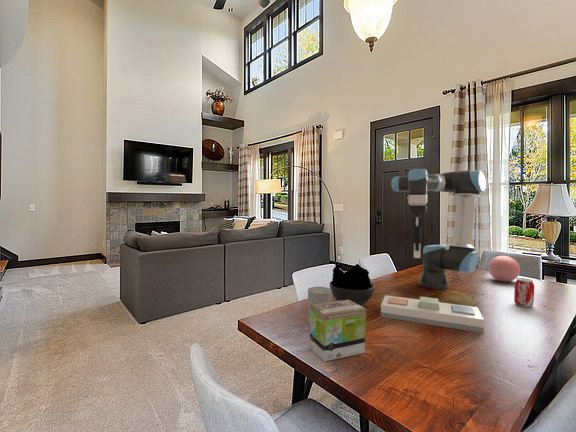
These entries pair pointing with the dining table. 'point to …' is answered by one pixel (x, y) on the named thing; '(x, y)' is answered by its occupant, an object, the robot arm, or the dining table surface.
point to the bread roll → (458, 298)
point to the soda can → (524, 292)
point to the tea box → (337, 329)
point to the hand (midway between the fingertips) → (417, 257)
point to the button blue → (462, 310)
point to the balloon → (504, 268)
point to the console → (433, 315)
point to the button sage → (429, 303)
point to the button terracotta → (398, 301)
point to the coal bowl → (352, 285)
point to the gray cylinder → (318, 297)
